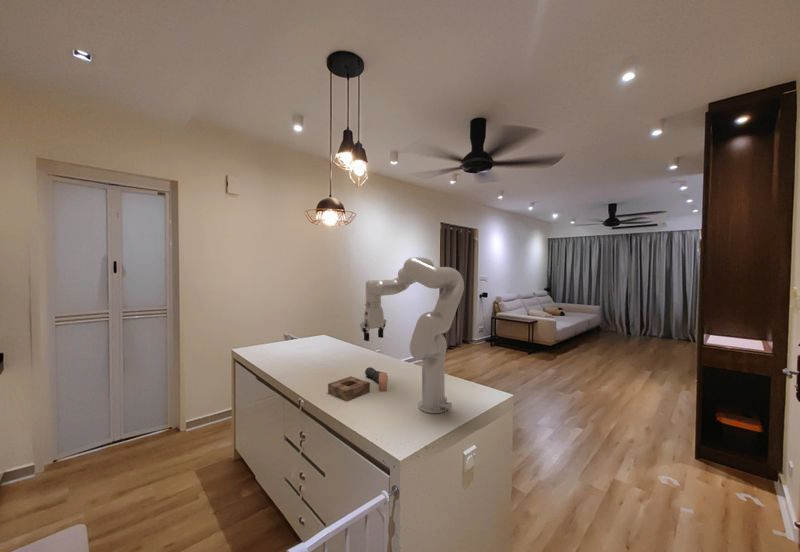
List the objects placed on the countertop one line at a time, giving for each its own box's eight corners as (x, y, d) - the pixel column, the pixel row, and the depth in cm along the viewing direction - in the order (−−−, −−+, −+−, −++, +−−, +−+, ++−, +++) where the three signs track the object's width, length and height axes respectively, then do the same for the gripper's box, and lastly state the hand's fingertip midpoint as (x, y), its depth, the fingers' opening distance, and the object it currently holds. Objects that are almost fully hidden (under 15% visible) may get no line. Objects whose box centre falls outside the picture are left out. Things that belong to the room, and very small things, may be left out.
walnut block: (369, 391, 150) (369, 382, 150) (346, 401, 139) (346, 391, 139) (351, 385, 159) (351, 376, 159) (328, 393, 148) (328, 383, 148)
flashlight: (364, 377, 171) (363, 367, 171) (372, 375, 175) (372, 365, 175) (379, 385, 159) (379, 374, 159) (387, 382, 162) (387, 372, 162)
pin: (388, 389, 152) (388, 373, 152) (383, 392, 149) (383, 375, 149) (383, 387, 155) (382, 371, 155) (377, 390, 152) (377, 373, 152)
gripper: (365, 307, 147) (366, 343, 147) (390, 303, 160) (391, 337, 160) (355, 306, 152) (355, 341, 152) (380, 303, 165) (380, 335, 165)
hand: (373, 339), depth 156 cm, fingers open, 9 cm apart
